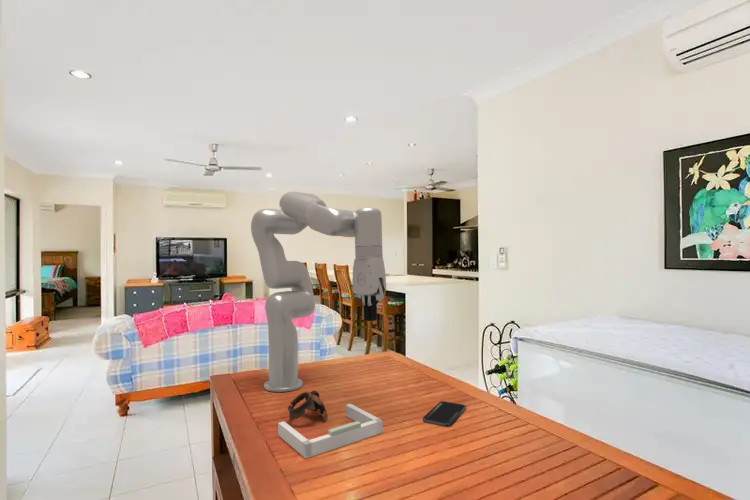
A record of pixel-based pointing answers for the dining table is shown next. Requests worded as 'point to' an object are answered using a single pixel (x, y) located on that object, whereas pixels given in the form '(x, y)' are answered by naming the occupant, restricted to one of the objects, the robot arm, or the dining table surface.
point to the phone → (444, 414)
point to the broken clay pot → (307, 405)
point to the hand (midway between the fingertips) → (370, 320)
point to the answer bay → (334, 433)
